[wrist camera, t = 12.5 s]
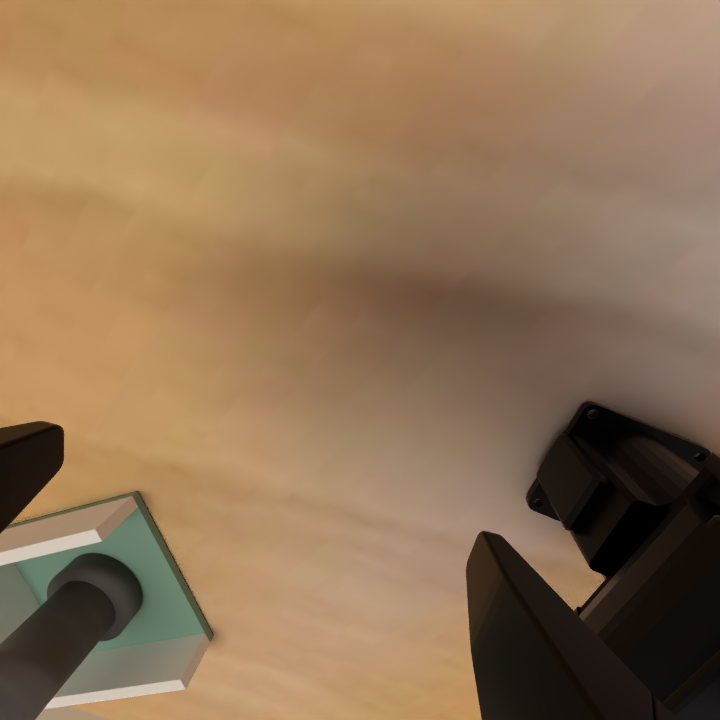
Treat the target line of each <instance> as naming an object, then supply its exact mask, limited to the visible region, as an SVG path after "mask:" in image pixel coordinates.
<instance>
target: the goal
mask: <svg viewBox="0 0 720 720" xmlns="http://www.w3.org/2000/svg"><path fill="white" fill-rule="evenodd" d="M87 553H99V554H104V555H107V556H110V557H112V558H114V559H116V560H118V561H119V562H121V563H122V564H124V565H125V566H126V567H127V568H128V569H129V570H130V571H131V572H132V573H133V575H134V576H135V577H136V579H137V581H138V582H139V585H140V587H141V590H142V604H141V607H140V609H139V611H138V612H137V613H136V615H135V616H134V617H133V619H132V620H131V621H130V622H129V624H128V625H127V626H126V628H125V629H124V630H123V631H122V633H121V634H120V635H119V636H117V637H116V638H114V639H112V640H108V641H99V642H98V643H97V645H96V646H95V647H94V648H93V649H92V651H91V652H90V653H89V654H88V656H87V657H86V658H85V659H84V660H83V662H82V663H81V664H80V665H79V667H78V668H77V669H76V670H75V671H74V673H73V674H72V675H71V676H70V678H69V679H68V680H67V681H66V682H65V684H64V685H63V686H62V687H61V689H60V690H59V691H58V692H57V693H56V695H55V696H54V697H53V698H52V699H51V701H50V702H49V703H48V704H47V706H46V707H45V708H44V709H47V708H55V707H63V706H70V705H77V704H84V703H91V702H99V701H106V700H113V699H120V698H127V697H135V696H142V695H149V694H156V693H164V692H171V691H178V690H185V689H186V688H187V686H188V684H189V682H190V680H191V678H192V676H193V674H194V673H195V671H196V669H197V667H198V665H199V663H200V661H201V659H202V657H203V655H204V653H205V651H206V649H207V647H208V645H209V643H210V641H211V639H212V637H213V634H212V632H211V630H210V628H209V626H208V624H207V622H206V620H205V618H204V616H203V615H202V613H201V611H200V609H199V607H198V605H197V603H196V601H195V599H194V597H193V596H192V594H191V592H190V590H189V588H188V586H187V584H186V582H185V580H184V578H183V577H182V575H181V573H180V571H179V569H178V567H177V565H176V563H175V561H174V559H173V558H172V556H171V554H170V552H169V550H168V548H167V546H166V544H165V542H164V540H163V538H162V537H161V535H160V533H159V531H158V529H157V527H156V525H155V523H154V521H153V519H152V518H151V516H150V514H149V512H148V510H147V508H146V506H145V504H144V502H143V500H142V499H141V497H140V495H139V493H138V491H137V492H133V493H129V494H125V495H122V496H118V497H114V498H110V499H106V500H103V501H99V502H95V503H91V504H88V505H84V506H80V507H76V508H72V509H69V510H65V511H61V512H57V513H54V514H50V515H46V516H42V517H38V518H35V519H31V520H27V521H23V522H19V523H16V524H12V525H8V526H7V527H6V529H5V530H4V531H3V532H2V533H1V534H0V644H1V643H2V642H3V641H4V640H5V639H6V638H7V637H8V636H9V635H10V634H11V633H12V632H14V631H15V630H16V629H17V628H18V627H19V626H20V625H21V624H22V623H23V622H24V621H25V620H26V619H27V618H28V617H30V616H31V615H32V614H33V613H34V612H35V611H36V610H37V609H38V608H39V607H40V606H41V605H42V604H43V603H44V602H46V601H47V588H48V585H49V583H50V581H51V580H52V579H53V578H54V577H55V576H56V575H57V574H58V573H59V572H60V571H61V570H62V569H64V568H65V567H66V566H67V565H68V564H69V563H70V562H71V561H72V560H74V559H75V558H76V557H78V556H80V555H83V554H87Z"/></svg>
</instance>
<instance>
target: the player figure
mask: <svg viewBox="0 0 720 720" xmlns="http://www.w3.org/2000/svg"><path fill="white" fill-rule="evenodd" d="M141 604H142V590H141V587H140V585H139V582H138V581H137V579H136V577H135V576H134V575H133V573H132V572H131V571H130V570H129V569H128V568H127V567H126V566H125V565H124V564H122V563H121V562H119V561H118V560H116V559H114V558H112V557H110V556H107V555H104V554H99V553H87V554H83V555H80V556H78V557H76V558H75V559H74V560H72V561H71V562H70V563H69V564H68V565H67V566H66V567H65V568H64V569H62V570H61V571H60V572H59V573H58V574H57V575H56V576H55V577H54V578H53V579H52V580H51V581H50V583H49V585H48V588H47V601H46V602H44V603H43V604H42V605H41V606H40V607H39V608H38V609H37V610H36V611H35V612H34V613H33V614H32V615H31V616H30V617H28V618H27V619H26V620H25V621H24V622H23V623H22V624H21V625H20V626H19V627H18V628H17V629H16V630H15V631H14V632H12V633H11V634H10V635H9V636H8V637H7V638H6V639H5V640H4V641H3V642H2V643H1V644H0V720H35V719H36V718H37V716H38V715H39V714H40V713H41V712H42V710H43V709H44V708H45V707H46V706H47V704H48V703H49V702H50V701H51V699H52V698H53V697H54V696H55V695H56V693H57V692H58V691H59V690H60V689H61V687H62V686H63V685H64V684H65V682H66V681H67V680H68V679H69V678H70V676H71V675H72V674H73V673H74V671H75V670H76V669H77V668H78V667H79V665H80V664H81V663H82V662H83V660H84V659H85V658H86V657H87V656H88V654H89V653H90V652H91V651H92V649H93V648H94V647H95V646H96V645H97V643H98V642H99V641H108V640H112V639H114V638H116V637H117V636H119V635H120V634H121V633H122V631H123V630H124V629H125V628H126V626H127V625H128V624H129V622H130V621H131V620H132V619H133V617H134V616H135V615H136V613H137V612H138V611H139V609H140V607H141Z"/></svg>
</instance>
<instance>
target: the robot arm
mask: <svg viewBox="0 0 720 720" xmlns="http://www.w3.org/2000/svg"><path fill="white" fill-rule="evenodd" d="M592 409H594V410H595V413H594V414H593V415H591V416H588V415H587V414H588V412H589V411H590V410H592ZM697 453H700V455H699V456H698V457H695V458H694V456H695V455H696V454H697ZM63 461H64V430H63V428H62V427H61V426H60V425H56V424H53V423H49V422H44V421H37V422H31V423H26V424H20V425H15V426H9V427H4V428H0V534H1V533H2V532H3V531H4V530H5V529H6V527H7V526H8V525H9V524H10V523H11V522H12V521H13V520H14V519H15V518H16V517H17V516H18V515H19V514H20V513H21V511H22V510H23V509H24V508H25V507H26V506H27V505H28V504H29V503H30V502H31V501H32V500H33V498H34V497H35V496H36V495H37V494H38V493H39V492H40V491H41V490H42V489H43V488H44V486H45V485H46V484H47V483H48V482H49V481H50V480H51V479H52V478H53V477H54V476H55V475H56V473H57V472H58V471H59V470H60V468H61V466H62V464H63ZM535 499H541V500H540V501H539V502H537V503H534V502H533V501H534V500H535ZM526 501H527V504H528V506H529V507H530V509H532V510H533V511H536V512H538V513H541V514H543V515H546V516H548V517H551V518H553V519H556V520H558V521H560V522H561V523H562V525H563V527H564V528H565V529H566V530H569V531H570V533H571V534H572V536H573V538H574V540H575V542H576V544H577V545H578V547H579V549H580V551H581V553H582V554H583V556H584V558H585V560H586V562H587V563H588V565H589V567H590V569H592V570H593V571H596V572H598V573H601V574H602V575H603V577H604V579H605V581H604V582H603V583H602V584H601V585H600V586H599V588H598V589H597V590H596V591H595V592H594V593H593V594H592V596H591V597H590V598H589V599H588V600H587V601H586V602H585V604H584V605H583V606H582V607H577V608H576V609H575V610H574V611H573V610H572V609H571V608H570V607H569V606H568V605H567V604H566V602H565V601H564V600H563V599H562V598H561V597H560V596H559V595H558V594H557V593H556V592H555V591H554V590H553V589H552V588H551V587H550V586H549V585H548V584H547V583H546V582H545V581H544V580H543V578H542V577H541V576H540V575H539V574H538V573H537V572H536V571H535V570H534V569H533V568H532V567H531V566H530V565H529V564H528V563H527V562H526V561H525V560H524V559H523V558H522V557H521V556H520V554H519V553H518V552H517V551H516V550H515V549H514V548H513V547H512V546H511V545H510V544H509V543H508V542H507V541H506V540H505V539H504V538H503V537H502V536H501V535H499V534H495V533H491V532H487V531H482V532H480V533H479V534H478V536H477V538H476V541H475V543H474V546H473V548H472V551H471V553H470V556H469V559H468V561H467V567H466V580H467V597H468V614H469V630H470V644H471V654H472V661H473V668H474V674H475V680H476V686H477V692H478V699H479V705H480V711H481V717H482V720H720V455H718V454H716V453H714V452H712V453H711V452H710V451H709V450H708V449H706V448H705V447H703V446H702V445H700V444H698V443H695V442H693V441H690V440H688V439H685V438H683V437H680V436H678V435H675V434H673V433H670V432H668V431H665V430H663V429H660V428H658V427H655V426H653V425H650V424H648V423H645V422H643V421H640V420H638V419H635V418H633V417H630V416H628V415H625V414H623V413H620V412H618V411H615V410H613V409H610V408H608V407H605V406H603V405H600V404H598V403H595V402H586V403H584V404H583V405H582V406H581V407H580V408H579V410H578V412H577V413H576V415H575V416H574V418H573V420H572V421H571V423H570V425H569V426H568V428H567V430H566V431H565V433H564V434H563V435H561V436H559V437H558V439H557V441H556V442H555V444H554V446H553V447H552V449H551V451H550V452H549V454H548V456H547V457H546V459H545V461H544V462H543V464H542V466H541V467H540V469H539V470H538V472H537V479H536V481H535V483H534V484H533V486H532V488H531V489H530V491H529V493H528V494H527V497H526Z"/></svg>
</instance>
